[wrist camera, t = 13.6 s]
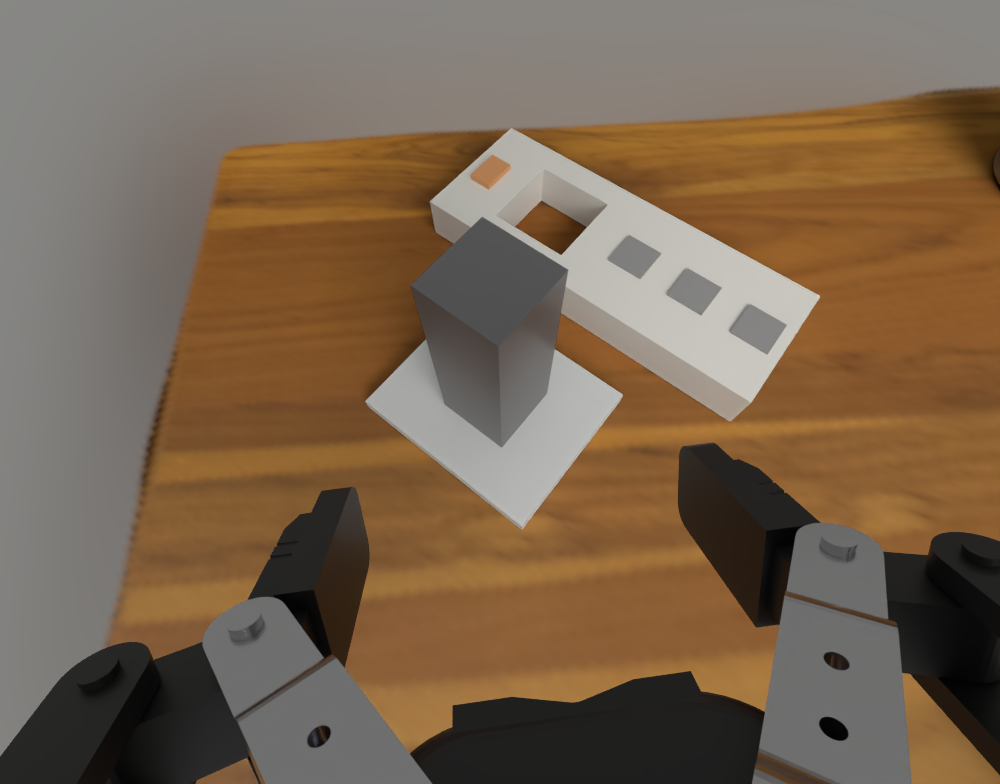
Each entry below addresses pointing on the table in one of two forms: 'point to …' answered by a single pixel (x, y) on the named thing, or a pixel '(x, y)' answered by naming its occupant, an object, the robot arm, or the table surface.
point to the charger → (491, 326)
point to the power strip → (639, 273)
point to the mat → (481, 462)
